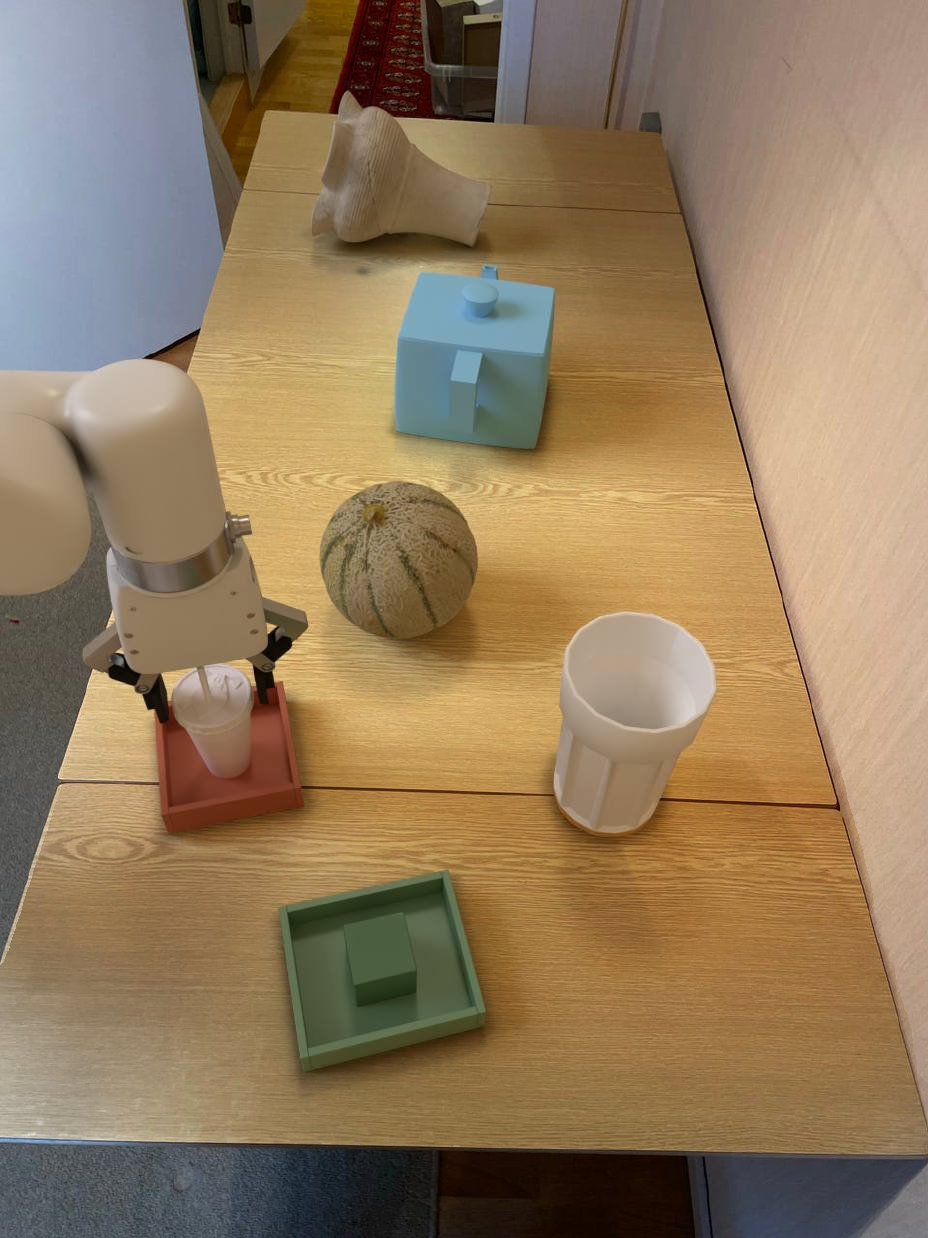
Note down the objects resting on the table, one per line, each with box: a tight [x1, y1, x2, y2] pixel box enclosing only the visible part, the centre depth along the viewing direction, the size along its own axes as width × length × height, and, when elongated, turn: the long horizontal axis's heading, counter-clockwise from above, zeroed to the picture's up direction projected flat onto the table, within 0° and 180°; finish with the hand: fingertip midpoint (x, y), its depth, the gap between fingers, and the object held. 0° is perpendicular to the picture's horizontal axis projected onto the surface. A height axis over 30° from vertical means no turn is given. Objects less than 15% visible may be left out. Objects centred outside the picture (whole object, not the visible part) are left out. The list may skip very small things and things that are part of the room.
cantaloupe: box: [318, 480, 479, 639], centre depth 92 cm, size 15×15×15 cm
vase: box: [310, 90, 492, 248], centre depth 137 cm, size 22×22×28 cm
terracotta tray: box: [153, 680, 305, 834], centre depth 84 cm, size 11×11×3 cm
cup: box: [552, 610, 718, 838], centre depth 78 cm, size 11×11×17 cm
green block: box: [343, 912, 417, 1007], centre depth 72 cm, size 4×4×4 cm
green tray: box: [278, 869, 487, 1073], centre depth 73 cm, size 13×11×3 cm
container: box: [394, 263, 556, 450], centre depth 114 cm, size 17×25×15 cm
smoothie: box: [170, 663, 254, 779], centre depth 79 cm, size 6×6×14 cm
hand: (213, 698), depth 78 cm, fingers open, 7 cm apart
